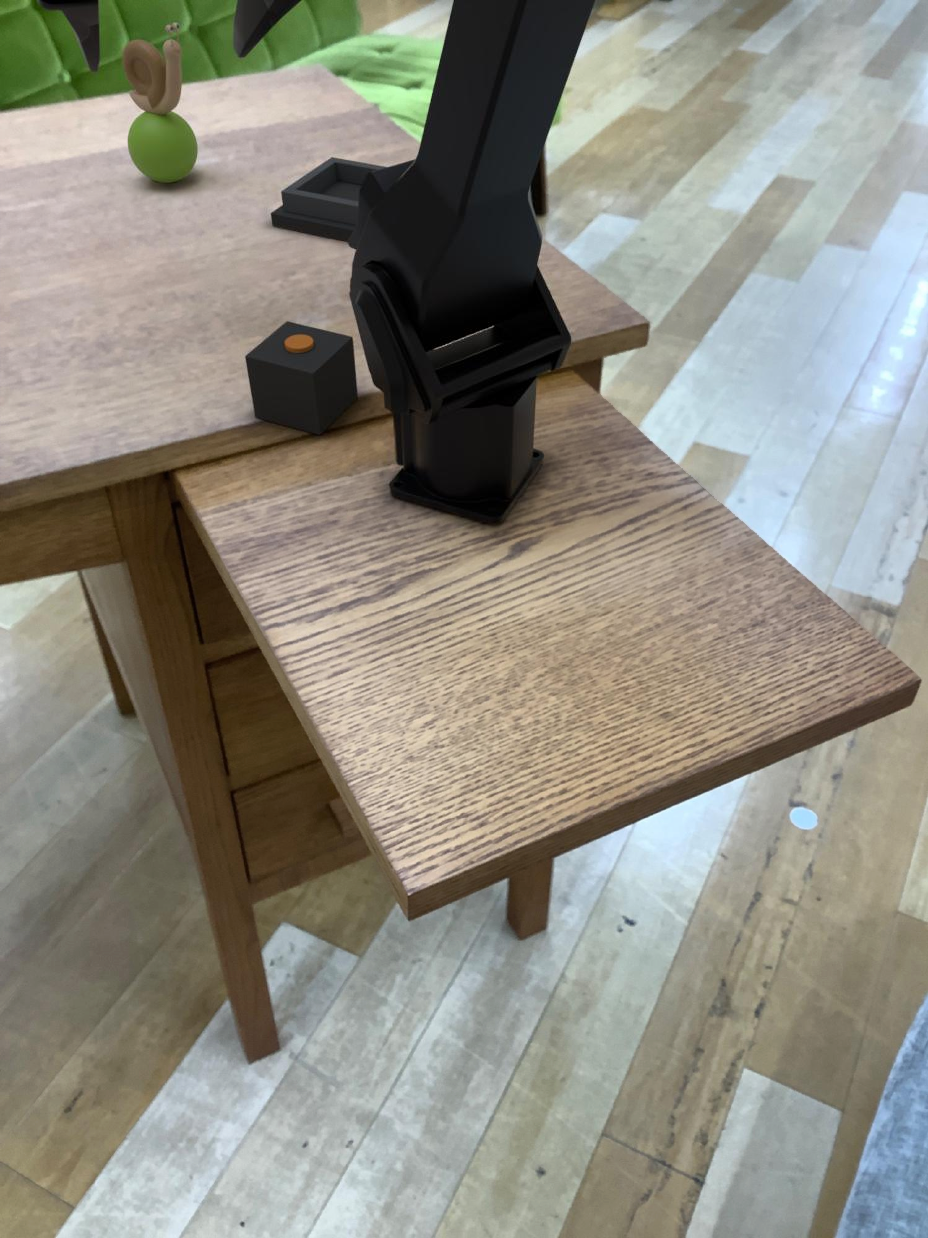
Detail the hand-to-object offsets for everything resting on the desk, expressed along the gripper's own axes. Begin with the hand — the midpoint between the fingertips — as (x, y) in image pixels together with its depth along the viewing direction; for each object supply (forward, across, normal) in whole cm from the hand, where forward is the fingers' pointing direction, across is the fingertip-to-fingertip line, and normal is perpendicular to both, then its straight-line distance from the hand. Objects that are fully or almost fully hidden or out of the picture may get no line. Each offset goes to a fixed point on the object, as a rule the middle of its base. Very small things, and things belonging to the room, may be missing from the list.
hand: (167, 58), depth 63 cm
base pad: (+14, -15, +2) cm, 20 cm away
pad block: (+3, 0, +23) cm, 23 cm away
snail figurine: (+21, -5, -9) cm, 23 cm away
